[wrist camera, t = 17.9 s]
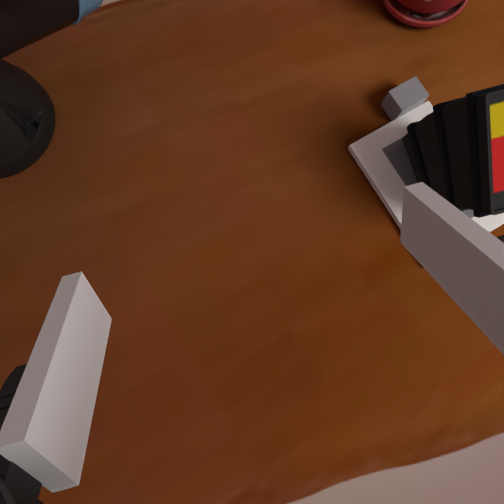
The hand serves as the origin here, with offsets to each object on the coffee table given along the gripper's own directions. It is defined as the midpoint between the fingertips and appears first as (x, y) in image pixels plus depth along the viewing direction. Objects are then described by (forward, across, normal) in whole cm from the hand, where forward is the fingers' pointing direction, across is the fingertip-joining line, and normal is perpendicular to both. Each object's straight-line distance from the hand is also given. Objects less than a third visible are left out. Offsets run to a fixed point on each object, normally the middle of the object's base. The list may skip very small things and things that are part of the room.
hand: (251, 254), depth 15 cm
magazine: (+25, +24, -15) cm, 38 cm away
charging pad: (+27, +24, -15) cm, 39 cm away
